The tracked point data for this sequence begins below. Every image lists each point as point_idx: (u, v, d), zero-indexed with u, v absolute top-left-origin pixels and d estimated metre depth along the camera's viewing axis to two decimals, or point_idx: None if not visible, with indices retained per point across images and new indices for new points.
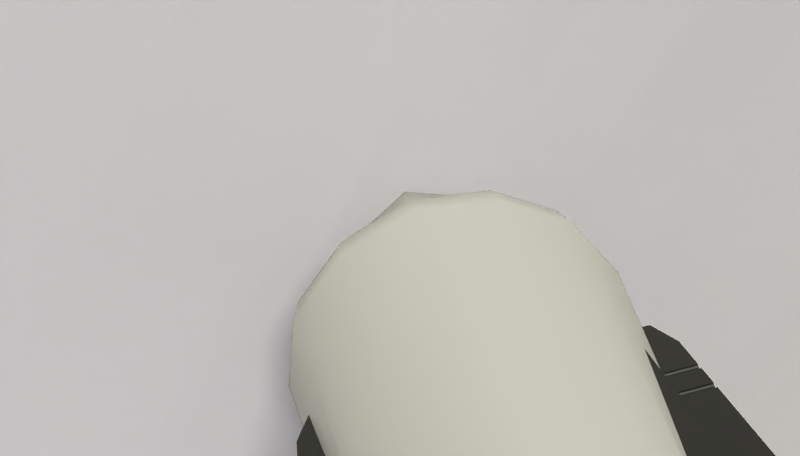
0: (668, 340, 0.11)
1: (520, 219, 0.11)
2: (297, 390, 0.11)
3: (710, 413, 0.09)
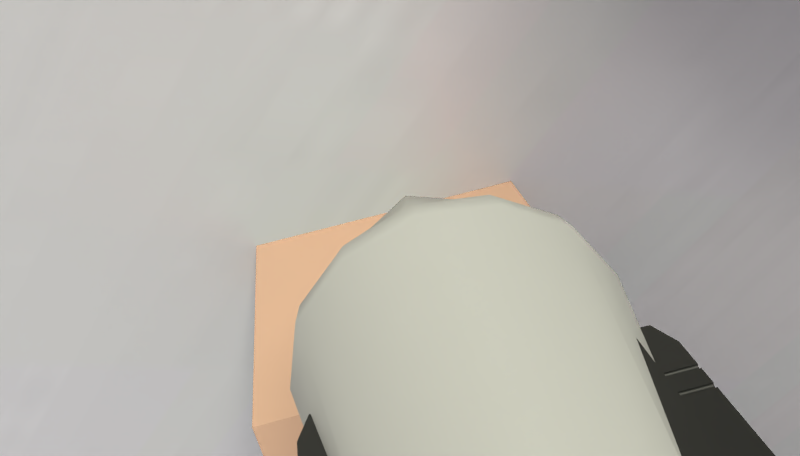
0: (667, 340, 0.11)
1: (520, 223, 0.11)
2: (298, 394, 0.11)
3: (710, 413, 0.09)
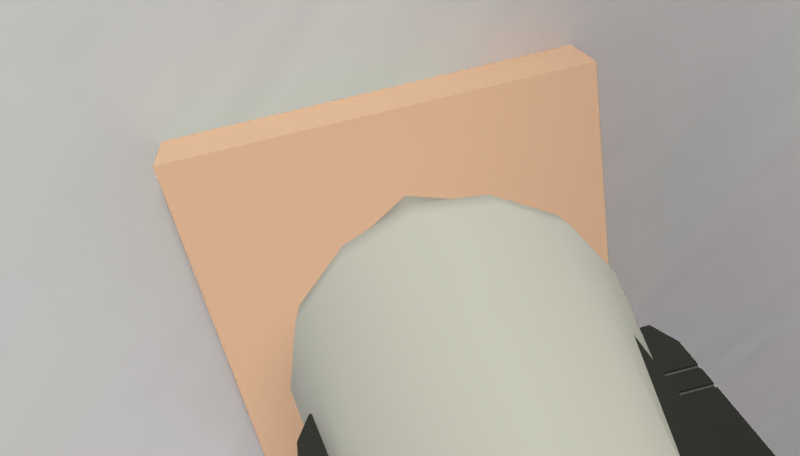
0: (667, 340, 0.11)
1: (519, 223, 0.11)
2: (298, 393, 0.11)
3: (710, 413, 0.09)
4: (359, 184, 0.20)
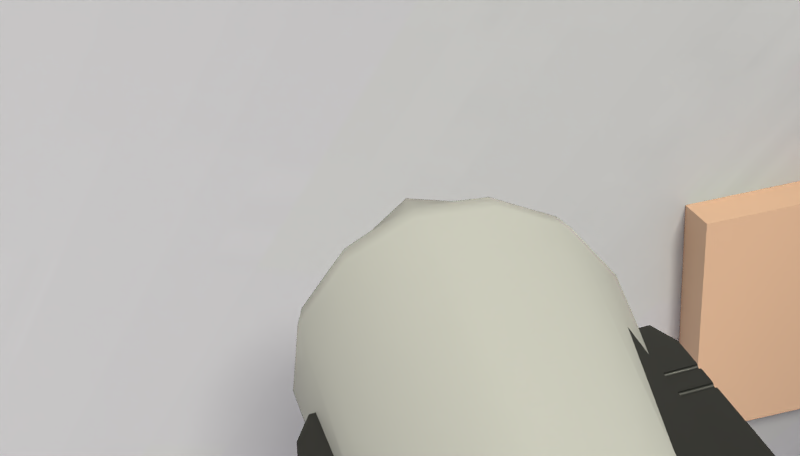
0: (668, 339, 0.11)
1: (519, 226, 0.11)
2: (301, 395, 0.12)
3: (710, 413, 0.09)
4: None
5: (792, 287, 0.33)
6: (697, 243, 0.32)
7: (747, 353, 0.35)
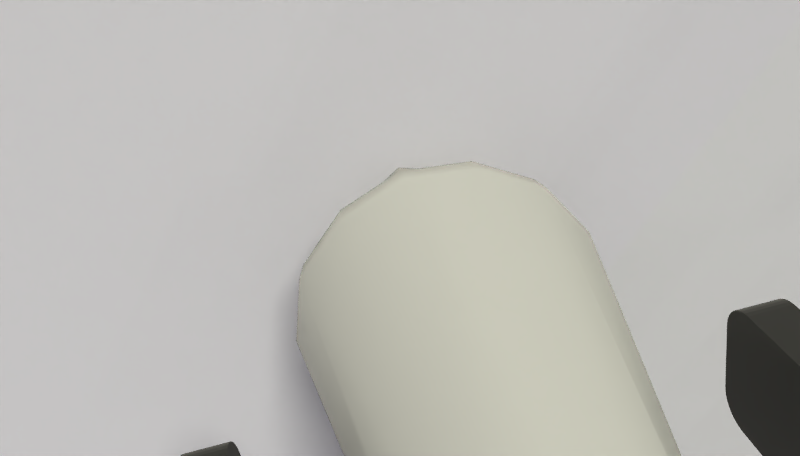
0: None
1: (498, 185, 0.12)
2: (303, 342, 0.13)
3: None
4: None
5: None
6: None
7: None
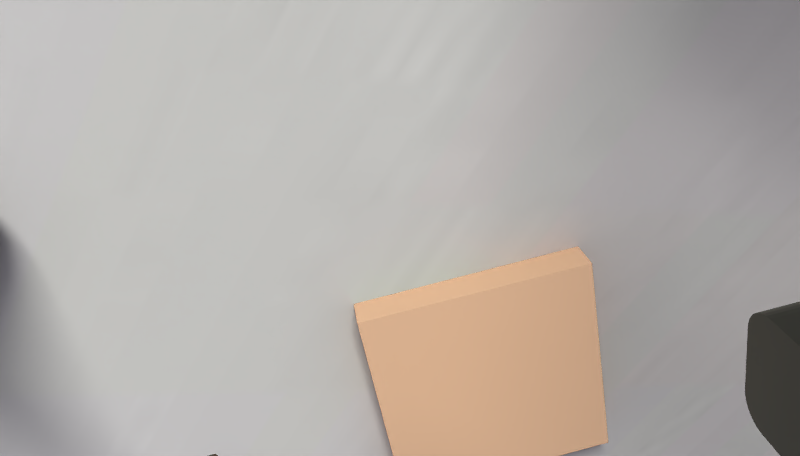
0: None
1: None
2: None
3: None
4: (463, 328, 0.37)
5: (456, 370, 0.38)
6: None
7: (433, 427, 0.39)
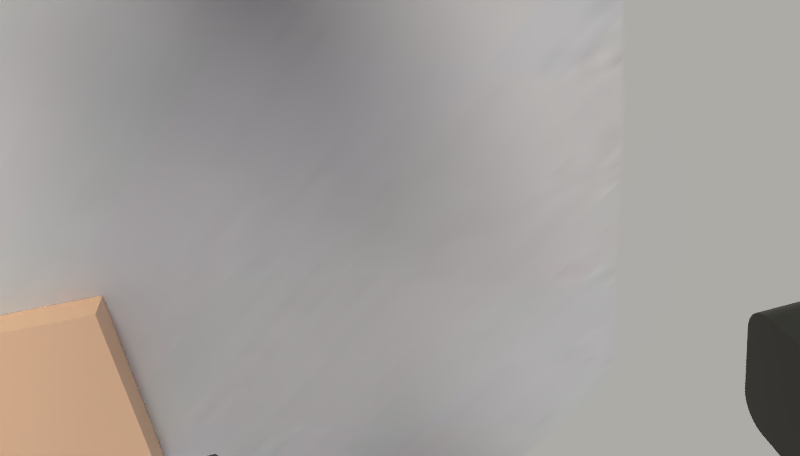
0: None
1: None
2: None
3: None
4: None
5: None
6: None
7: None
